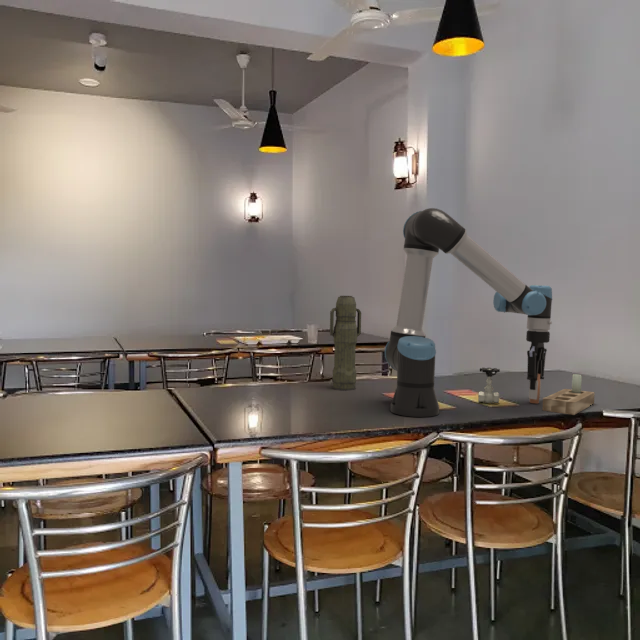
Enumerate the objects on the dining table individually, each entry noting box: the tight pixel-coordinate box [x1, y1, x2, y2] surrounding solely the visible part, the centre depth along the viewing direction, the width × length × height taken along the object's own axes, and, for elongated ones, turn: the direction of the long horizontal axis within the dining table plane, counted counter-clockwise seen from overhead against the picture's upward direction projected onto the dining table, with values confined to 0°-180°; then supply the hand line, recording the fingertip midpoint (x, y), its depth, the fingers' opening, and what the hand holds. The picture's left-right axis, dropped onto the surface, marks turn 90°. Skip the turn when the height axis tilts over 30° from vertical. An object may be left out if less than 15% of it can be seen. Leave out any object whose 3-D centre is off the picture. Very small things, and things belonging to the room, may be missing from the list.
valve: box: [478, 367, 501, 404], centre depth 217 cm, size 7×7×12 cm
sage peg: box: [571, 373, 583, 394], centre depth 220 cm, size 3×3×10 cm
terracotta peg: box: [529, 374, 540, 404], centre depth 219 cm, size 3×3×10 cm
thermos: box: [329, 295, 362, 391], centre depth 240 cm, size 9×12×35 cm
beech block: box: [541, 388, 596, 416], centre depth 214 cm, size 10×24×4 cm, turn 143°
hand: (534, 398), depth 219 cm, fingers closed on terracotta peg, 2 cm apart
